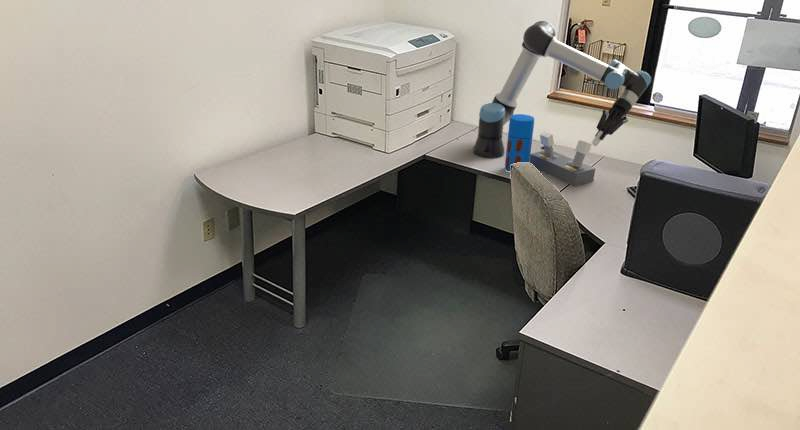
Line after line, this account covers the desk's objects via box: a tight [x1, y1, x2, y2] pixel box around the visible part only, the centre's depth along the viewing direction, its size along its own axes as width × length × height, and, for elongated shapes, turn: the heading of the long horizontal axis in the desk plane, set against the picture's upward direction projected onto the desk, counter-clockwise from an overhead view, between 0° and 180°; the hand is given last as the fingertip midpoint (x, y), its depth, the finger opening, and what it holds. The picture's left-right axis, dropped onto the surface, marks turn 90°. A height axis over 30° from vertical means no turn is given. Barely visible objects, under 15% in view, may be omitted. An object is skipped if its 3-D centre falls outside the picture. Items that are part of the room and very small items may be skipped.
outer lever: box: [572, 139, 593, 167], centre depth 275 cm, size 5×3×11 cm, turn 34°
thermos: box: [504, 113, 535, 171], centre depth 281 cm, size 11×11×25 cm
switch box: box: [529, 149, 596, 187], centre depth 283 cm, size 28×12×7 cm, turn 34°
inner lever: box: [539, 130, 555, 157], centre depth 284 cm, size 5×3×11 cm, turn 34°
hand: (594, 144), depth 277 cm, fingers closed
